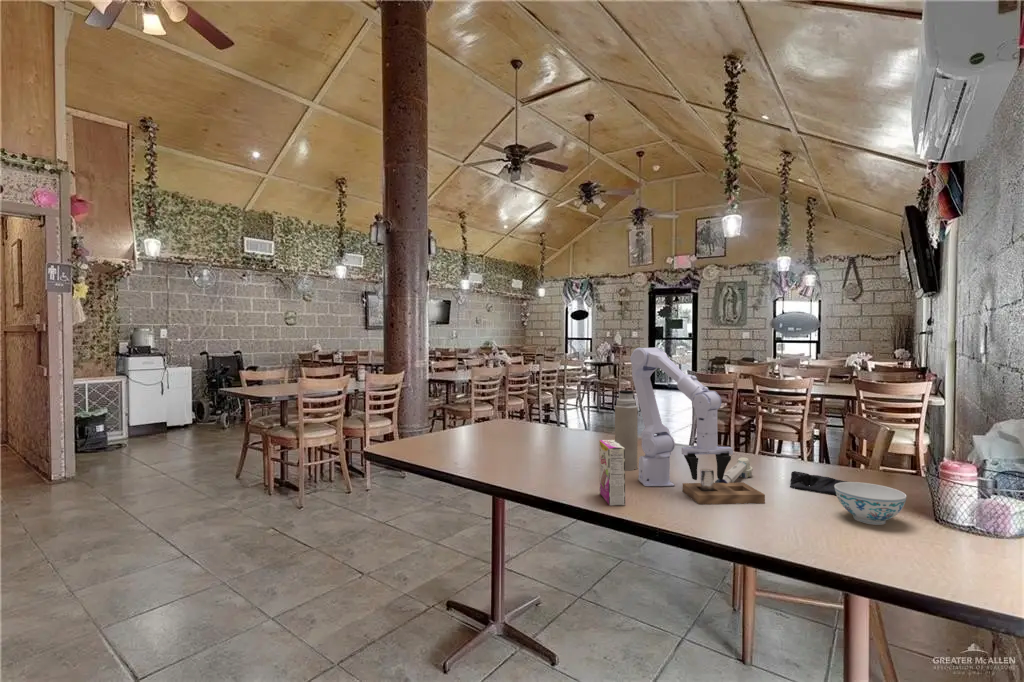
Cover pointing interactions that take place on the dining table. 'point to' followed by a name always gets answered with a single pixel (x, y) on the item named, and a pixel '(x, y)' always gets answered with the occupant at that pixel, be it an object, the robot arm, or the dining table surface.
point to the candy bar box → (612, 472)
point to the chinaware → (870, 501)
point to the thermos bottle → (627, 427)
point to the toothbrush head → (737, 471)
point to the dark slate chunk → (813, 482)
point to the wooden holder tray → (724, 493)
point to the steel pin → (707, 480)
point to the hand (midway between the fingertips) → (707, 479)
